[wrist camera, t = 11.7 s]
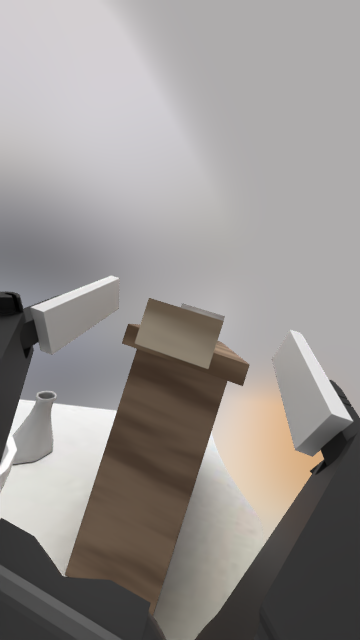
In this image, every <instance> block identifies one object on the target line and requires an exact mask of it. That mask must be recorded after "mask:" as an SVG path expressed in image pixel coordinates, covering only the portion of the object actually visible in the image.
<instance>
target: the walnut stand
mask: <svg viewBox="0 0 360 640" xmlns="http://www.w3.org/2000/svg"><path fill="white" fill-rule="evenodd" d="M139 328H140V325H136V324H128V326H127V329H126V332H125V335H124V338H123V342H122V344H125V345H128V346H131V347H134V348H137V351H136V354H135V357H134V360H133V363H132V366H131V369H130V373H129V376H128V379H127V382H126V385H125V388H124V391H123V394H122V398H121V401H120V404H119V407H118V410H117V413H116V416H115V419H114V423H113V426H112V429H111V432H110V435H109V438H108V441H107V444H106V448H105V451H104V454H103V457H102V460H101V463H100V466H99V469H98V473H97V476H96V479H95V482H94V485H93V488H92V491H91V494H90V498H89V501H88V504H87V507H86V510H85V513H84V516H83V519H82V523H81V526H80V529H79V532H78V535H77V538H76V541H75V544H74V548H73V551H72V554H71V557H70V560H69V563H68V566H67V569H66V573H65V575H67V576H68V577H72V578H88V579H105V580H112V581H113V582H115V583H117V584H119V585H120V586H122V587H124V588H126V589H127V590H129V591H131V592H133V593H134V594H136V595H138V596H140V597H141V598H143V599H145V600H147V601H149V602H150V603H151V604H150V608H149V612H150V613H151V615H152V616H153V613H154V610H155V607H156V604H157V601H158V598H159V595H160V591H161V588H162V585H163V582H164V579H165V576H166V573H167V569H168V566H169V563H170V560H171V557H172V554H173V550H174V547H175V544H176V541H177V538H178V535H179V532H180V528H181V525H182V522H183V519H184V516H185V513H186V510H187V506H188V503H189V500H190V497H191V494H192V491H193V488H194V484H195V481H196V478H197V475H198V472H199V469H200V465H201V462H202V459H203V456H204V453H205V450H206V447H207V443H208V440H209V437H210V434H211V431H212V428H213V425H214V421H215V418H216V415H217V412H218V408H219V406H220V402H221V399H222V396H223V393H224V390H225V387H226V384H227V381H230V382H233V383H236V384H238V385H242V386H243V384H244V380H245V377H246V374H247V371H248V368H249V364H248V363H247V362H246V361H244V360H243V359H242V358H241V357H239V356H238V355H237V354H235V353H234V352H233V351H232V350H230V349H229V348H228V347H227V346H225V345H224V344H223V343H222V342H220V341H217V343H216V347H215V350H214V353H213V356H212V359H211V362H210V365H209V369H206V368H203V367H200V366H198V365H195V364H192V363H189V362H186V361H183V360H180V359H178V358H175V357H172V356H169V355H166V354H163V353H160V352H158V351H155V350H152V349H149V348H146V347H143V346H140V345H138V344H135V340H136V337H137V334H138V331H139Z"/></svg>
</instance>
